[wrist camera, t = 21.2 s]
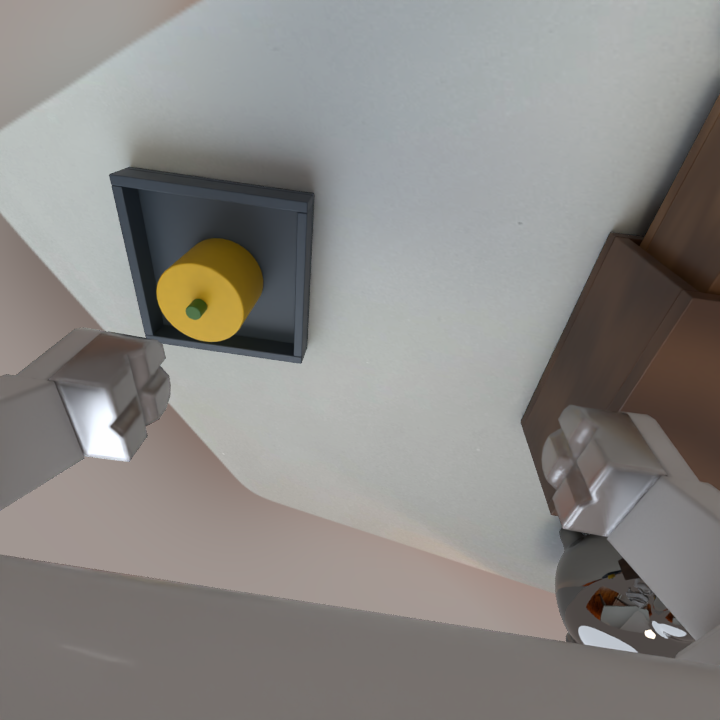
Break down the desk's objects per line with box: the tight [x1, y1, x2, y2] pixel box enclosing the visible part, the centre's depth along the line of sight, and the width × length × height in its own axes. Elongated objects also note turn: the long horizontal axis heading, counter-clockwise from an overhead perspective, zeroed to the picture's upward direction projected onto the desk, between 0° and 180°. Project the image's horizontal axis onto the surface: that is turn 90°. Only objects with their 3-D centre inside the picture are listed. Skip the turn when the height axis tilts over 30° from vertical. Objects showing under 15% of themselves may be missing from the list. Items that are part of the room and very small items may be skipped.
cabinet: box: [521, 232, 720, 516], centre depth 25 cm, size 16×16×9 cm
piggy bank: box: [555, 528, 696, 658], centre depth 36 cm, size 11×15×12 cm
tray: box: [109, 167, 314, 364], centre depth 27 cm, size 11×11×2 cm
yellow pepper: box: [157, 238, 263, 342], centre depth 26 cm, size 5×5×5 cm
